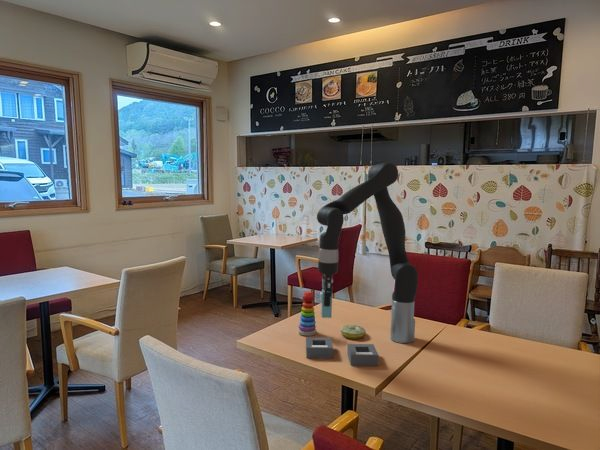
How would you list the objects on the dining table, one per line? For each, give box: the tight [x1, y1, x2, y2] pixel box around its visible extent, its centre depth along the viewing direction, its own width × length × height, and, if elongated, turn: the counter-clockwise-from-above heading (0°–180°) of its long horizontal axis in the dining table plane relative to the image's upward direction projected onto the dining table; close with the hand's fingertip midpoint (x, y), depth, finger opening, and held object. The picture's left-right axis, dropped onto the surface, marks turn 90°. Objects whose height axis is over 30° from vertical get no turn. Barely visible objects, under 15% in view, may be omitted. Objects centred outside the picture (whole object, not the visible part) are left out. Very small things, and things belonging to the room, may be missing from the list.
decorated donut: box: [340, 324, 367, 340], centre depth 177 cm, size 10×11×4 cm
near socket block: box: [346, 343, 380, 367], centre depth 153 cm, size 10×10×4 cm
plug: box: [319, 289, 333, 319], centre depth 155 cm, size 4×4×10 cm
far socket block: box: [305, 337, 334, 359], centre depth 159 cm, size 10×10×4 cm
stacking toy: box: [297, 290, 317, 337], centre depth 178 cm, size 8×8×19 cm
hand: (326, 304), depth 155 cm, fingers closed on plug, 3 cm apart
